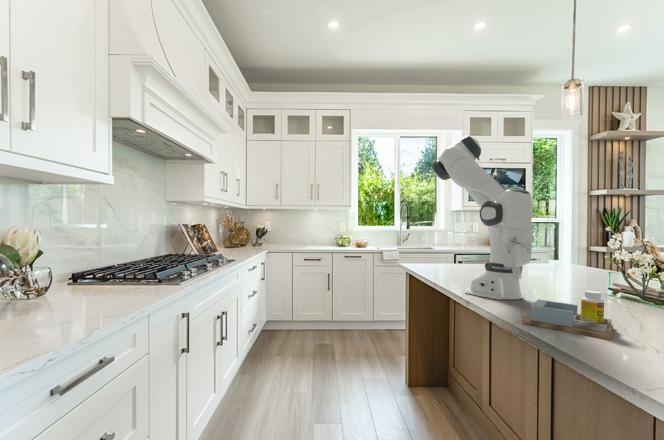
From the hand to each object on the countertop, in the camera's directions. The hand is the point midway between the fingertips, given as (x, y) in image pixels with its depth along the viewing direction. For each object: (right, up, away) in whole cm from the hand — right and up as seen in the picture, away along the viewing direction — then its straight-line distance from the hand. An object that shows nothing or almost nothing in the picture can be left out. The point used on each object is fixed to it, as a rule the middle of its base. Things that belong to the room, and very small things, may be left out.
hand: (517, 279), depth 119 cm
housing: (+8, -12, -6) cm, 16 cm away
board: (+11, -13, -9) cm, 19 cm away
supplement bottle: (+16, -12, -12) cm, 23 cm away
